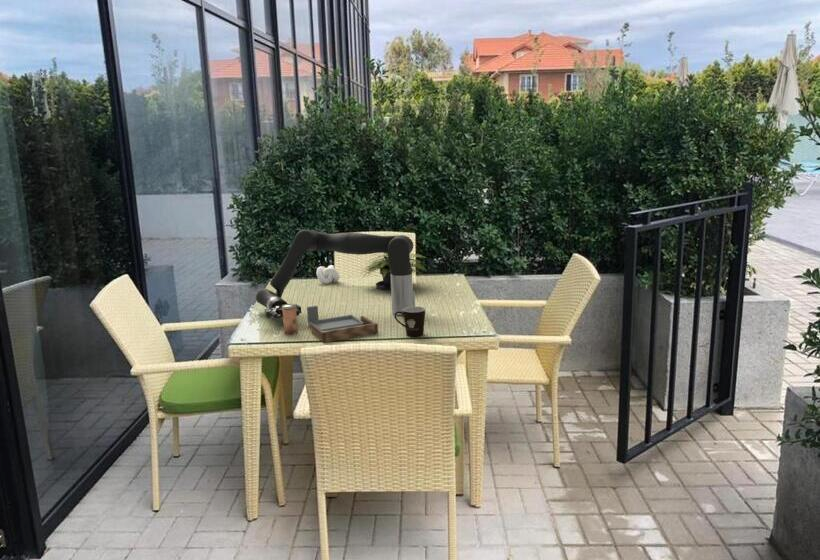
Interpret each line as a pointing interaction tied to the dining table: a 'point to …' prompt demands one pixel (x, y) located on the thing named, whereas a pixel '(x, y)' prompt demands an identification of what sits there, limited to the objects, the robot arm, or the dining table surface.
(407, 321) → the coffee mug
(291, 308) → the tea tin
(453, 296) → the dining table surface
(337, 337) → the wooden base box
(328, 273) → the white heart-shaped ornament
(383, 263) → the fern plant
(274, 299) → the robot arm
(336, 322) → the sliding tray
